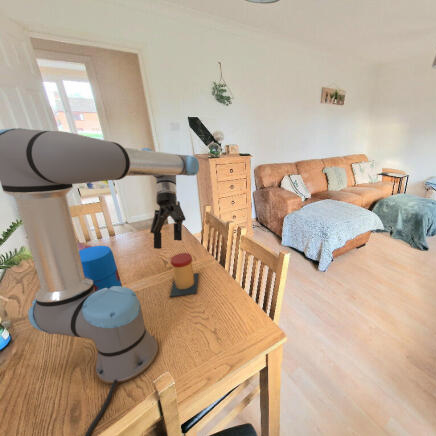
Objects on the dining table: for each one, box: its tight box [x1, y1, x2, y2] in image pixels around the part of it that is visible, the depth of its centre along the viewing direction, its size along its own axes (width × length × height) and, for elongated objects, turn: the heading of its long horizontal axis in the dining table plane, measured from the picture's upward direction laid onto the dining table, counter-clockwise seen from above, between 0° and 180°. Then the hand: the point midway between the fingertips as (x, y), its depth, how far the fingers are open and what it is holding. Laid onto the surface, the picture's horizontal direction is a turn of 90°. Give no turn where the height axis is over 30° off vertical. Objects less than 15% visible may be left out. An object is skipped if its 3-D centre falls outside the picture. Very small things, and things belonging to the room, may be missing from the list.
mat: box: [169, 272, 200, 298], centre depth 104 cm, size 14×10×1 cm
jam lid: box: [170, 252, 193, 267], centre depth 99 cm, size 8×8×2 cm
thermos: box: [79, 245, 123, 292], centre depth 84 cm, size 11×11×25 cm
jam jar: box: [171, 261, 195, 289], centre depth 102 cm, size 8×8×13 cm
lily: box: [77, 241, 94, 251], centre depth 121 cm, size 12×12×10 cm
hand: (167, 244), depth 93 cm, fingers open, 13 cm apart
